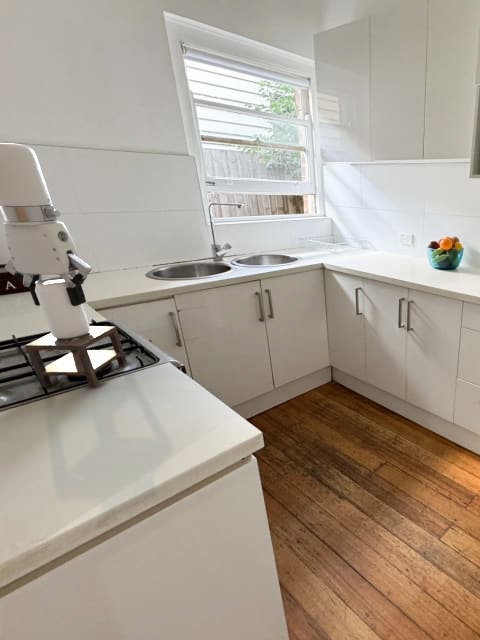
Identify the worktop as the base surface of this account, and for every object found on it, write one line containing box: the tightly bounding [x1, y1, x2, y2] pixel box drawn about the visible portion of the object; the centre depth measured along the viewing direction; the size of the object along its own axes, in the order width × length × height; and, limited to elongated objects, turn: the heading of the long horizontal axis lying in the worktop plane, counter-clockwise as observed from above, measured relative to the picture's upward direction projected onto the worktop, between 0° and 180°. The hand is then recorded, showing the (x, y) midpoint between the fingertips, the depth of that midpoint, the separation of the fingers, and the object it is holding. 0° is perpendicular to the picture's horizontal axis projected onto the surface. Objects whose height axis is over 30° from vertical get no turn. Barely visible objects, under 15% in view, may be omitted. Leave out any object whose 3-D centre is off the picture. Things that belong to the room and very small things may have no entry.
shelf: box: [24, 325, 128, 388], centre depth 85 cm, size 11×11×10 cm
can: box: [35, 276, 91, 339], centre depth 81 cm, size 6×6×12 cm
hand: (61, 303), depth 80 cm, fingers closed on can, 6 cm apart
